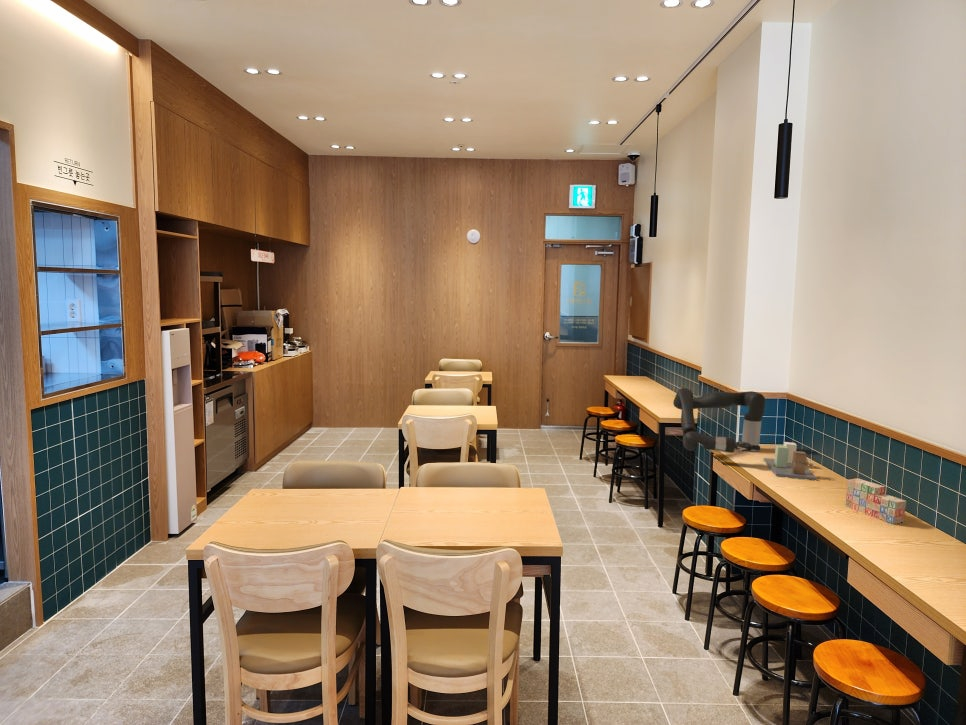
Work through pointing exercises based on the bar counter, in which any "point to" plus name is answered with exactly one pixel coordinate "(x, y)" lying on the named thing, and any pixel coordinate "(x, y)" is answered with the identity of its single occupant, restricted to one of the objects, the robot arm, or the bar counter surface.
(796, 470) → the brown block
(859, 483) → the stack of blocks
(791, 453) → the cream block
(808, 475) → the rail board
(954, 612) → the bar counter surface
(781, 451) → the pale green block
